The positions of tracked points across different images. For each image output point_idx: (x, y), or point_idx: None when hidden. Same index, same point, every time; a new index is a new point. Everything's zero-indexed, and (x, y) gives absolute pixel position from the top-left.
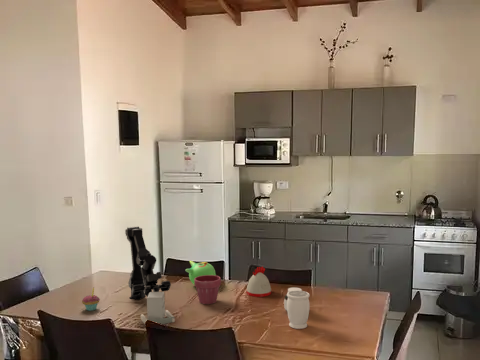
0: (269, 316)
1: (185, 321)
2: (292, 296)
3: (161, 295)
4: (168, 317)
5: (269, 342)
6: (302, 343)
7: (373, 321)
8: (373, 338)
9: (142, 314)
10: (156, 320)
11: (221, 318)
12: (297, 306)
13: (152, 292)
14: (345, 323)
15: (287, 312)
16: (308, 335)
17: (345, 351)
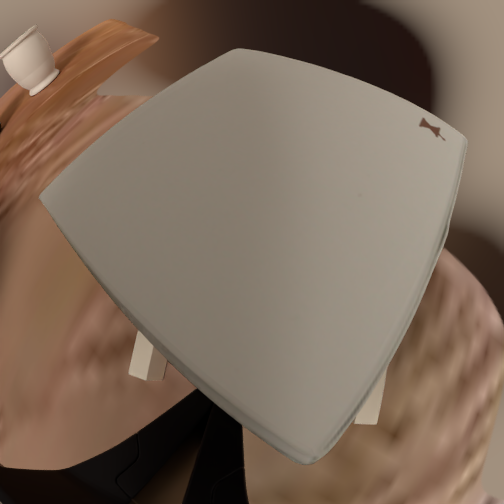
0: (13, 134)
1: None
2: (32, 27)
3: (194, 80)
4: None
5: (135, 34)
6: (111, 34)
7: (12, 87)
8: (61, 48)
9: (363, 417)
10: None
11: (51, 160)
12: (43, 36)
13: (263, 335)
14: None
15: (37, 65)
16: (78, 53)
17: (109, 23)
